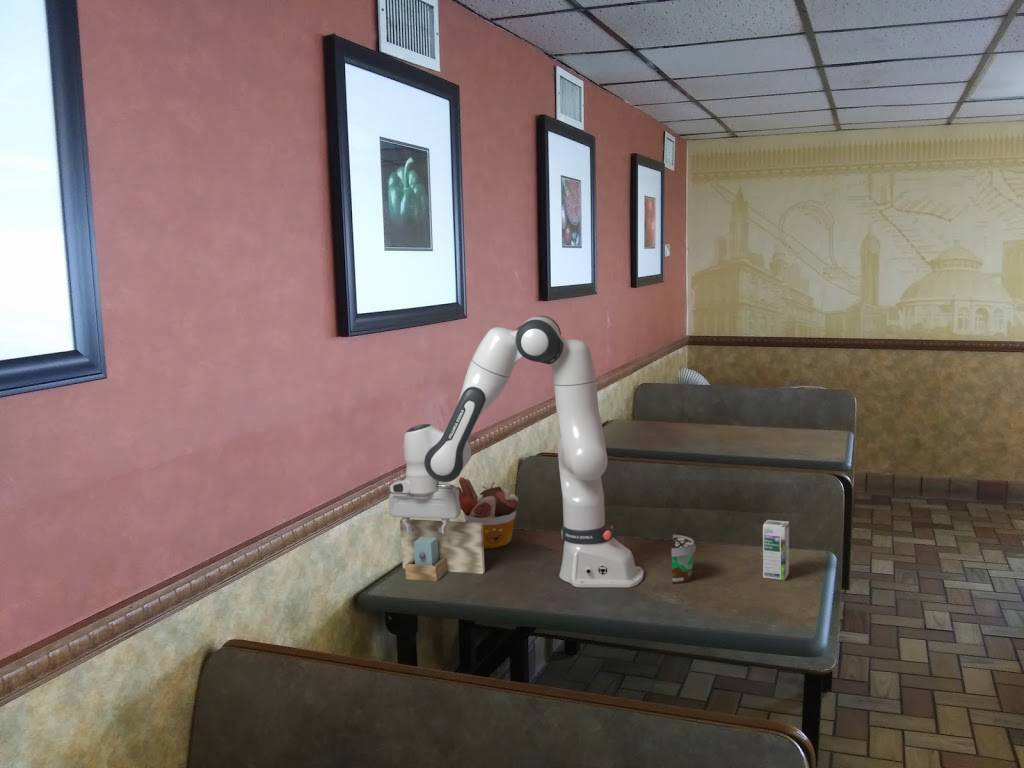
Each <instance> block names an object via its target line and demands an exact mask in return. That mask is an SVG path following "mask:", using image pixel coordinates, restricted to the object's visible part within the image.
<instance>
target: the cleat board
mask: <svg viewBox="0 0 1024 768" xmlns="http://www.w3.org/2000/svg"><path fill="white" fill-rule="evenodd" d="M409 522H410V523H411V525H414V532H413V533H407V527H406V526H405V524H404V523H403V521H402V518H401V519H399V529H400V541H401V544H400V545H401V560H402V569H405V571H404V572H405V580H412V581H423V582H424V581H426V582H427V581H428V582H437V581H439V580H440V579H441V578H442V577H443V576H444V575H446V574H447V573H448V572H450V573H451V572H452V573H466V574H477V575H478V574H481V575H484V574H485V572H486V571H485V570H486V567H485V565H486V564H485V551H484V550H485V549H484V545H483V525H482V523H474V522H466V521H452V520H451V521H450V520H449V522H448V524H447V526H446V533H445V534H439V529H438V528H439V527H440V526H442V525H443V523H444V522H442V520H434V519H433V520H432V519H416V518H415V519H414V518H413V519H412V518H410V519H409ZM420 537H436V538H438V552H439V562H437V563H436V564H435V565H434V566H430V565H415V555H414V542H415V541H416V540H417V539H419V538H420Z"/></svg>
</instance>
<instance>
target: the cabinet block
mask: <svg viewBox="0 0 1024 768" xmlns="http://www.w3.org/2000/svg"><path fill="white" fill-rule="evenodd" d="M414 555H415V565H430V566H434V565H435V564H436V563H437V562H439V552H438V538H436V537H420V538H419V539H417V540H416V541H415V542H414Z"/></svg>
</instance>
